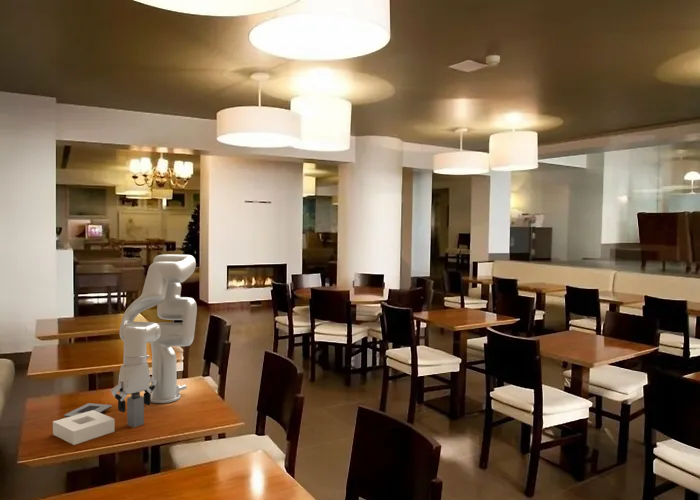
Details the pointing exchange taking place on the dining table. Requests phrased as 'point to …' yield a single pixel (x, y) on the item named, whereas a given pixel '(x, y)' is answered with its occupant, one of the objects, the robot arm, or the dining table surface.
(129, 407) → the plug
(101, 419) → the socket
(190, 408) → the dining table surface
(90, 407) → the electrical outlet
